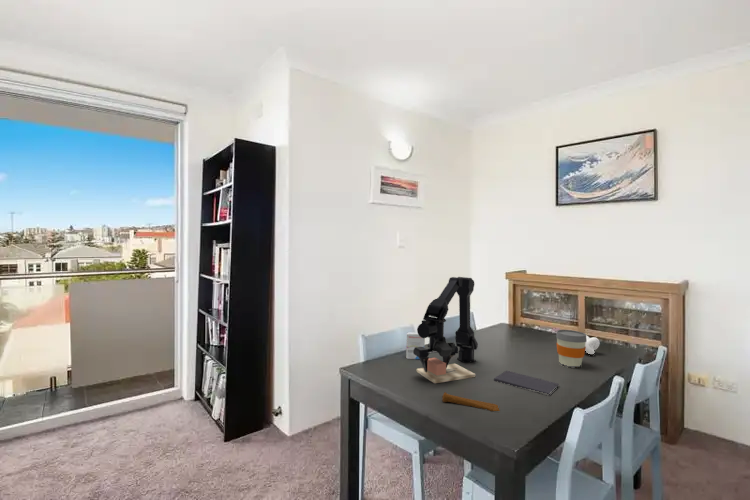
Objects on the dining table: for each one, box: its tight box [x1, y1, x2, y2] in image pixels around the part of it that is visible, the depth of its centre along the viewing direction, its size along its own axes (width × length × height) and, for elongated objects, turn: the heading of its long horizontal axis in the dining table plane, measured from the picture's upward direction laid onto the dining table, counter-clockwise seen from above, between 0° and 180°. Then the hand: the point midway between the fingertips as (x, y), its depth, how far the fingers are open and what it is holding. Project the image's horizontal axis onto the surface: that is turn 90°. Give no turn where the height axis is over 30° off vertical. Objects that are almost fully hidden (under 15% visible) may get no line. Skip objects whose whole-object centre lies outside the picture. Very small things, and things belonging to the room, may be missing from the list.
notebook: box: [493, 370, 560, 395], centre depth 149 cm, size 13×2×21 cm
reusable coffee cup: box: [555, 329, 587, 366], centre depth 173 cm, size 13×13×15 cm
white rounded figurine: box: [585, 334, 601, 355], centre depth 192 cm, size 11×12×9 cm
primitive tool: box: [441, 392, 501, 412], centre depth 128 cm, size 19×6×4 cm, turn 76°
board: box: [416, 363, 476, 384], centre depth 157 cm, size 20×14×1 cm
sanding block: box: [427, 357, 446, 377], centre depth 155 cm, size 4×8×5 cm, turn 25°
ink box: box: [405, 331, 426, 360], centre depth 179 cm, size 9×5×12 cm, turn 84°
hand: (435, 370), depth 155 cm, fingers open, 9 cm apart
